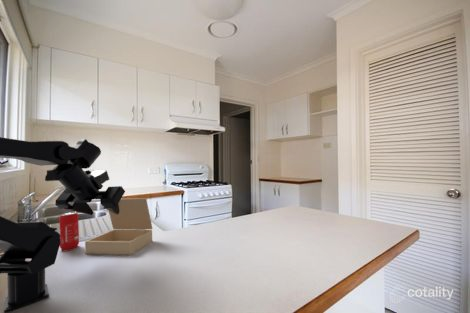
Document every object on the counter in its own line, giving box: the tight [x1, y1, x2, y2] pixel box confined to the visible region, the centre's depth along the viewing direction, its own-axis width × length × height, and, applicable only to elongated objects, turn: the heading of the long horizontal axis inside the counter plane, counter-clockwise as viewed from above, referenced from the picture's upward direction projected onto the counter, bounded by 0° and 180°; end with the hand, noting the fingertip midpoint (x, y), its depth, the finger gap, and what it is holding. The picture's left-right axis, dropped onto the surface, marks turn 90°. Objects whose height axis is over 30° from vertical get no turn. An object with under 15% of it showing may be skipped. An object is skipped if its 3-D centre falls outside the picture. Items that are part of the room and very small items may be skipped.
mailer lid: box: [108, 197, 153, 230], centre depth 77 cm, size 12×16×1 cm
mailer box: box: [84, 229, 153, 256], centre depth 72 cm, size 12×16×4 cm
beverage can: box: [58, 211, 80, 252], centre depth 74 cm, size 5×5×12 cm
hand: (105, 213), depth 68 cm, fingers open, 9 cm apart
